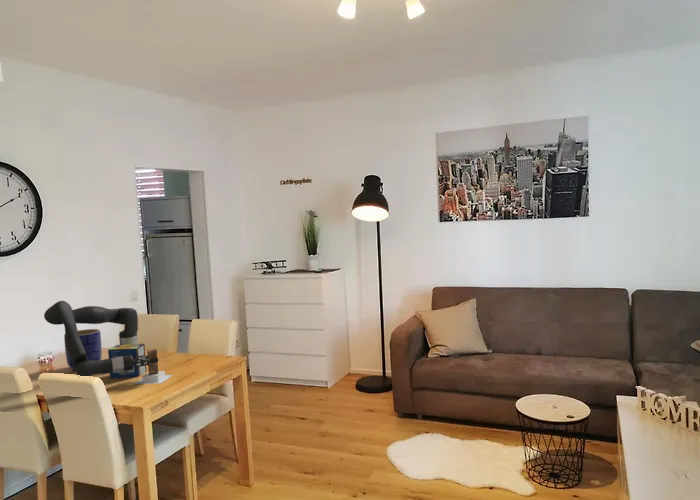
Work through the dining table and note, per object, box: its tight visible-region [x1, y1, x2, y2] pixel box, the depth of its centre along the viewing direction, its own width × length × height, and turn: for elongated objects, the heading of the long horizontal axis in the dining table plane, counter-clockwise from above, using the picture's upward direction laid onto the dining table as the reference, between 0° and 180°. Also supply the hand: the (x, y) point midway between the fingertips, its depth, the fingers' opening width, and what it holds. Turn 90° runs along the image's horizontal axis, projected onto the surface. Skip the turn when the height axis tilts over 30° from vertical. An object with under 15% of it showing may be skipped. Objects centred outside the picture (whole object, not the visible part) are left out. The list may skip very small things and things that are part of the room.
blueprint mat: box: [134, 374, 174, 385], centre depth 265 cm, size 14×14×1 cm
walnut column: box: [146, 348, 159, 375], centre depth 264 cm, size 4×4×12 cm
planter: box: [63, 328, 103, 371], centre depth 296 cm, size 18×18×21 cm
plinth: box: [141, 370, 166, 382], centre depth 265 cm, size 8×8×3 cm
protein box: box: [107, 343, 148, 379], centre depth 276 cm, size 10×15×16 cm
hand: (156, 358), depth 265 cm, fingers open, 8 cm apart
